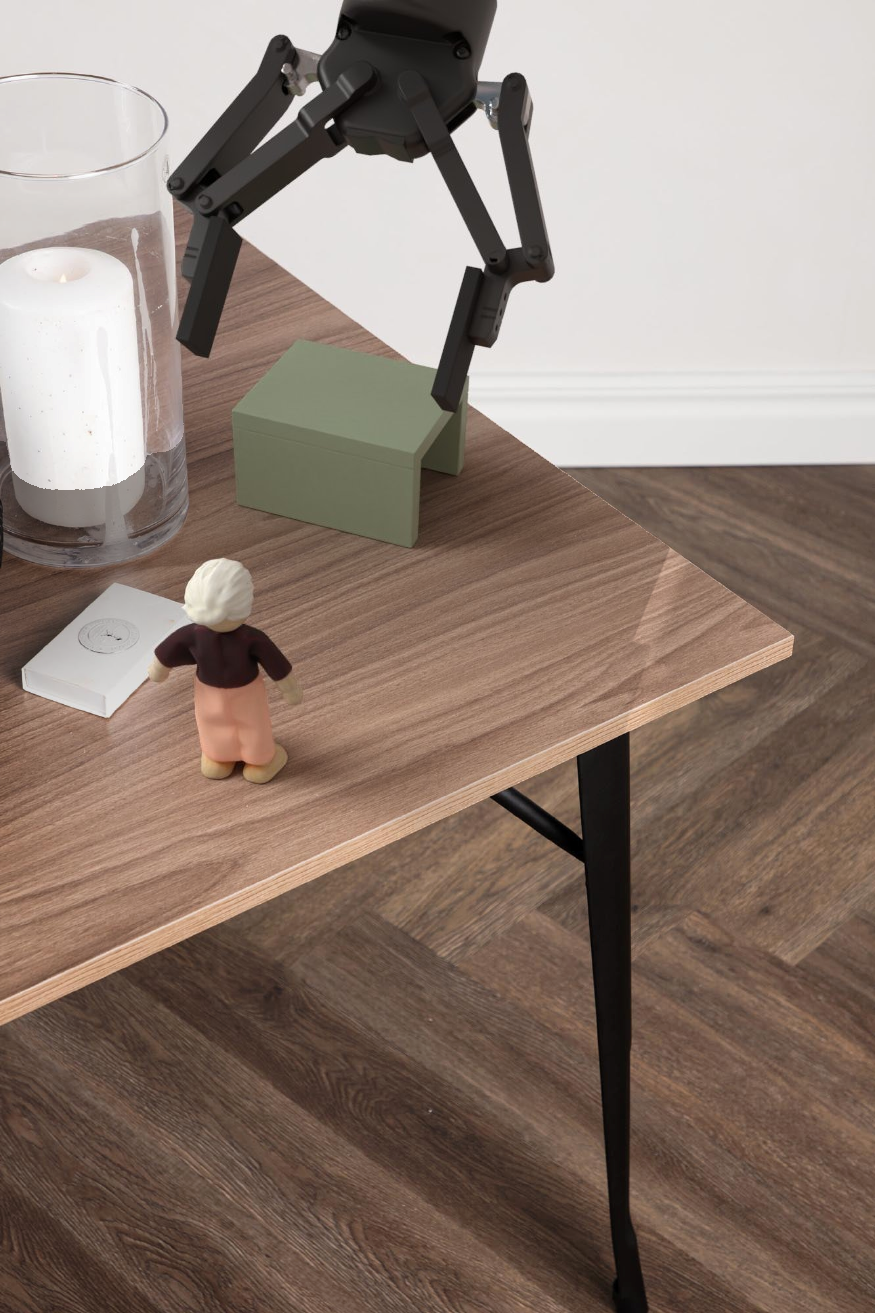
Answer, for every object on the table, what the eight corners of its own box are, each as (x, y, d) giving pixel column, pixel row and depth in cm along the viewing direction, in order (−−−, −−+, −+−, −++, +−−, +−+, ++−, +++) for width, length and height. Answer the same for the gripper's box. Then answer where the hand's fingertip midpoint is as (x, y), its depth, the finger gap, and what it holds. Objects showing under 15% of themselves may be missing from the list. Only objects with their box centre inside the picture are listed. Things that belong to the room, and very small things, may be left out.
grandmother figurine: (307, 735, 75) (302, 542, 67) (305, 787, 72) (300, 592, 64) (161, 735, 75) (138, 540, 67) (153, 787, 72) (128, 591, 64)
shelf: (236, 504, 91) (231, 409, 86) (300, 429, 98) (298, 337, 94) (411, 548, 88) (414, 453, 84) (463, 467, 95) (469, 375, 91)
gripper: (674, 51, 72) (565, 448, 71) (231, -17, 78) (124, 350, 77) (665, -35, 65) (544, 406, 64) (178, -102, 71) (59, 301, 70)
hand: (314, 376), depth 71 cm, fingers open, 13 cm apart
